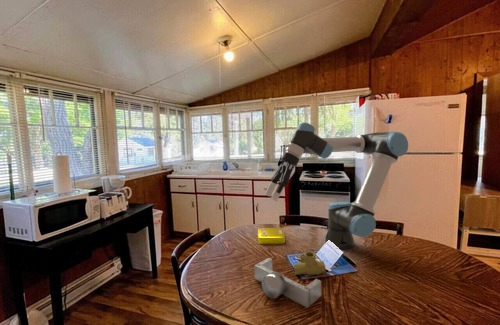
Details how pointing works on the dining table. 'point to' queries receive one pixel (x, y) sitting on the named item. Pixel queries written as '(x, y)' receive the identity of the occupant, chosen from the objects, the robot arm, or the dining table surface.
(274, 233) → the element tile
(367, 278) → the dining table surface
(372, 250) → the dining table surface
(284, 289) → the grey bracket with knob
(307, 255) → the brass pipe tee
